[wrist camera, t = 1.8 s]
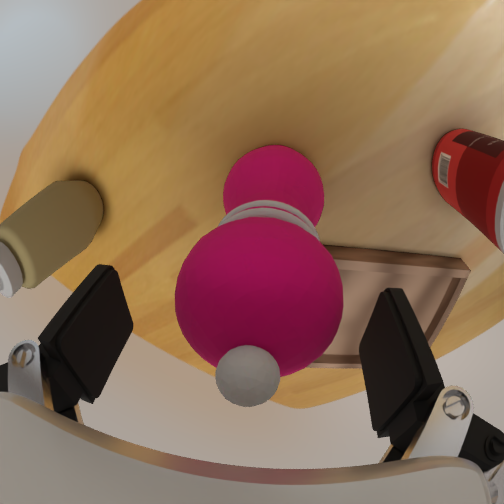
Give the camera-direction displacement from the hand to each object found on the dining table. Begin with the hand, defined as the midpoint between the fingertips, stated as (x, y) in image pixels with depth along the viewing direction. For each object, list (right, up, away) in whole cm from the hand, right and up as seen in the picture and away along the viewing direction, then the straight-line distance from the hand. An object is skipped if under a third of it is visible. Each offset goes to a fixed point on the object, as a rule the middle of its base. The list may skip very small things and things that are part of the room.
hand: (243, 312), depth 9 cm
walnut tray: (+14, -5, +20) cm, 25 cm away
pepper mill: (+2, +8, +14) cm, 17 cm away
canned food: (+20, +10, +11) cm, 25 cm away
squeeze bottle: (-19, +8, +18) cm, 27 cm away
